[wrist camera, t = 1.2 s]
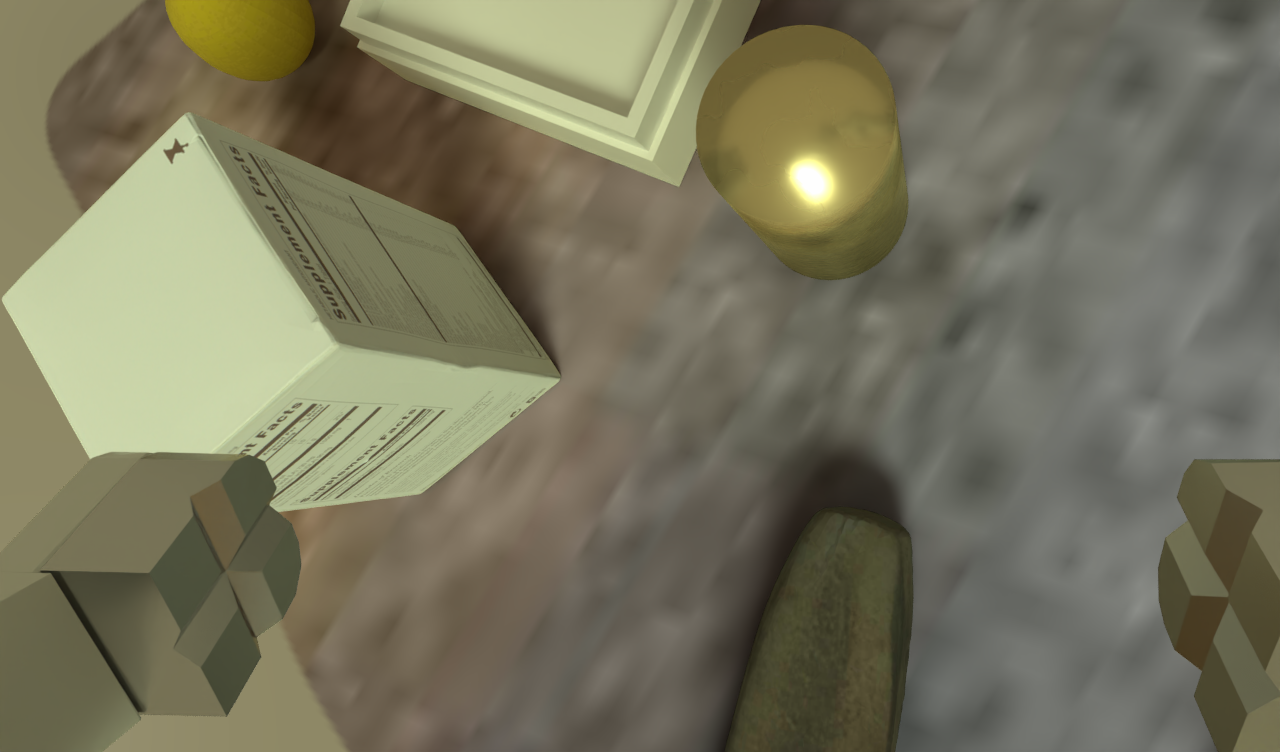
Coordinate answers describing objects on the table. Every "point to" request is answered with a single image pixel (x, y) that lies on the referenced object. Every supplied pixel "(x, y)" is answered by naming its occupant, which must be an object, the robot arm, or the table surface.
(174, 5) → the lemon
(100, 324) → the supplement box
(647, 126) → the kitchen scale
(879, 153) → the cylinder
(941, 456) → the table surface
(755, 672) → the decorative stone
